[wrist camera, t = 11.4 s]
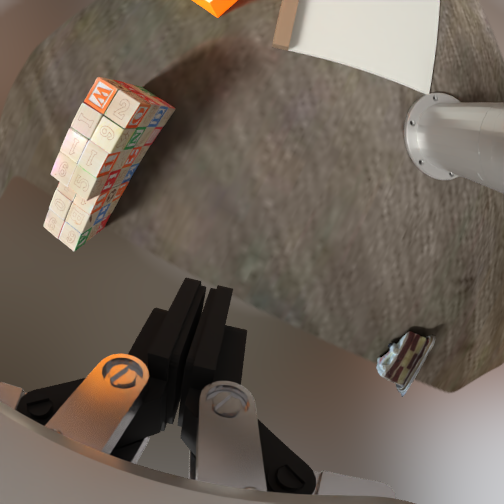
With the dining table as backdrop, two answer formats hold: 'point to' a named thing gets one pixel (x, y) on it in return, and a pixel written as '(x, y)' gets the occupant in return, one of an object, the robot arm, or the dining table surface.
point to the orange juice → (215, 5)
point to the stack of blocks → (101, 157)
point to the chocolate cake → (405, 360)
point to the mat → (365, 35)
